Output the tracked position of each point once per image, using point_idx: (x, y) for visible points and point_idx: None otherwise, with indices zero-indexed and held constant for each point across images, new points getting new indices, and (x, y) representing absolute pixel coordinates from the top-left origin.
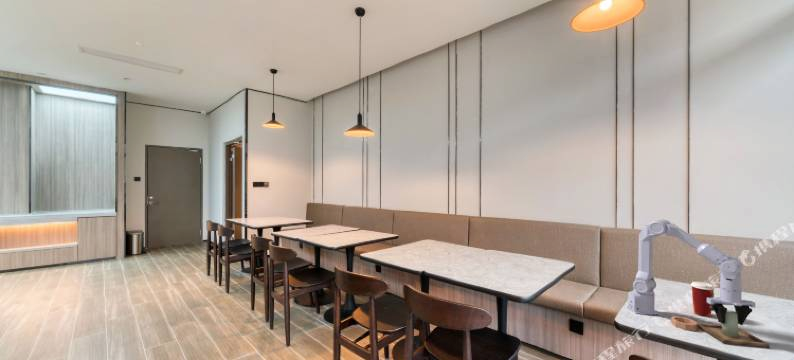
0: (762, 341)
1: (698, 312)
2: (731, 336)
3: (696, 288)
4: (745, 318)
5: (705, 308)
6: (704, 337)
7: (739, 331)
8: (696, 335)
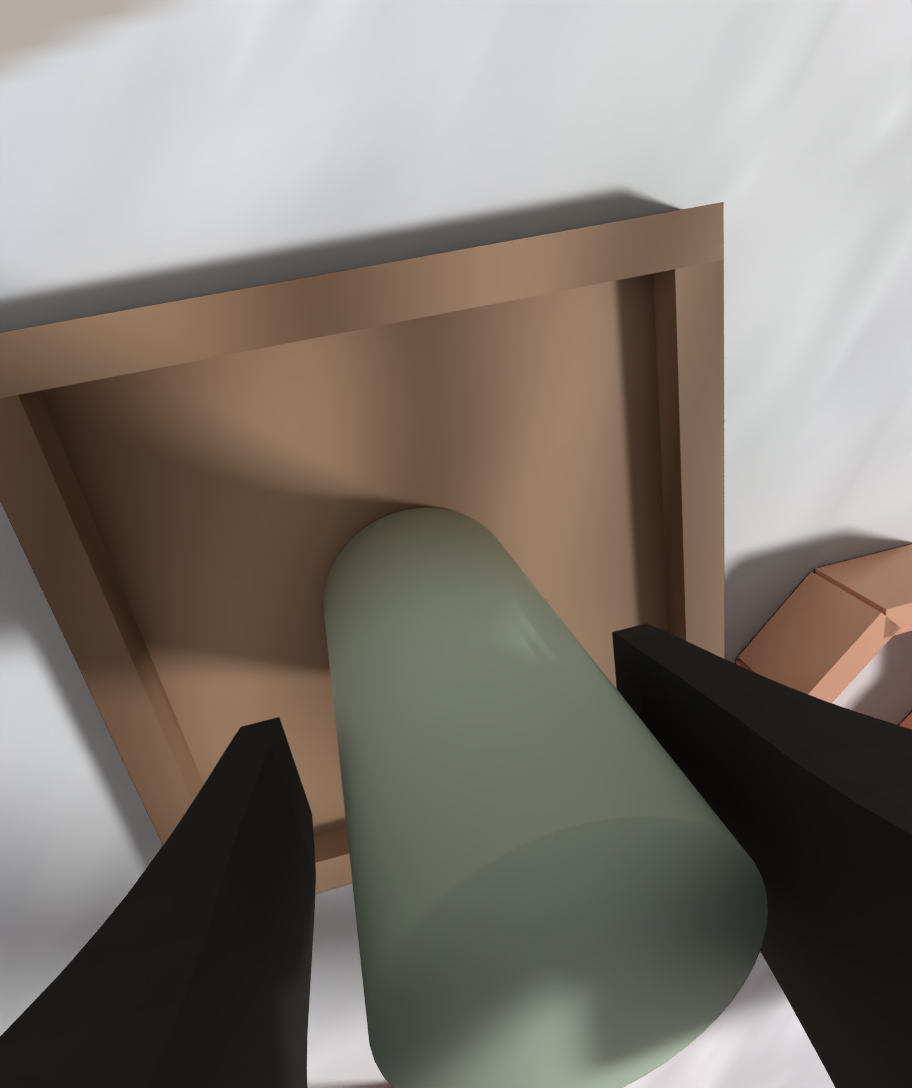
0: (22, 448)
1: None
2: (452, 513)
3: None
4: (157, 867)
5: None
6: (826, 372)
7: None
8: (894, 403)
